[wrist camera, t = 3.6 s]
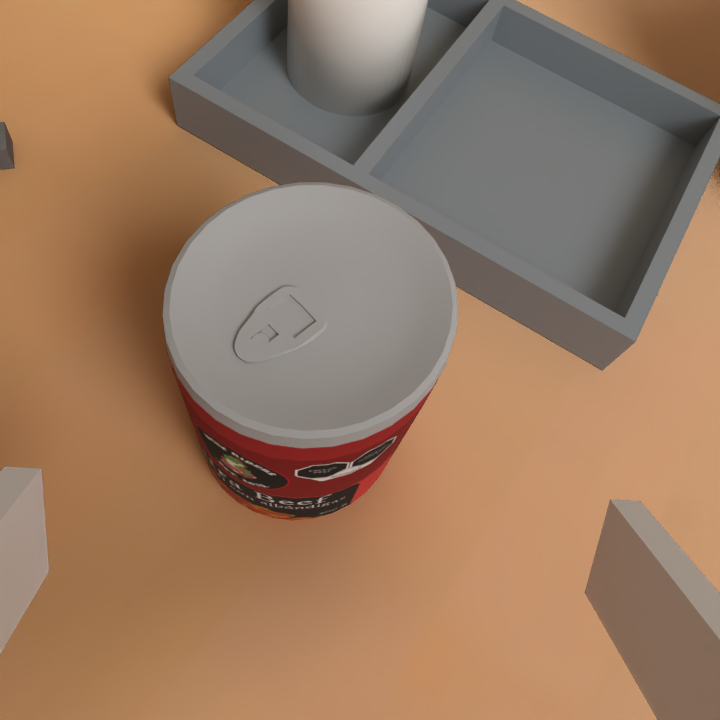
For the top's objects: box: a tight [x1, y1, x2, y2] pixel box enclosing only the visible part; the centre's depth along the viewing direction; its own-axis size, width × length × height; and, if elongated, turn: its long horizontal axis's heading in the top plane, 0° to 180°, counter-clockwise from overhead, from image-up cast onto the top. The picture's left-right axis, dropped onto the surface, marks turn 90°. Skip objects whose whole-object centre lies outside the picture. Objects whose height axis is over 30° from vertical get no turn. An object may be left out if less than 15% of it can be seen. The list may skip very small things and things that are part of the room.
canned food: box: [163, 182, 458, 520], centre depth 22 cm, size 8×8×11 cm
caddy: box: [168, 0, 720, 370], centre depth 33 cm, size 24×16×3 cm, turn 59°
